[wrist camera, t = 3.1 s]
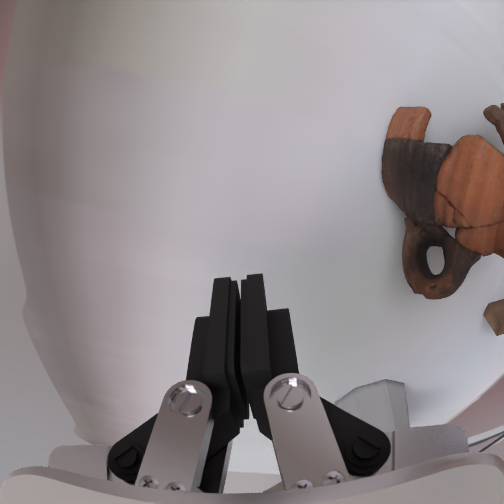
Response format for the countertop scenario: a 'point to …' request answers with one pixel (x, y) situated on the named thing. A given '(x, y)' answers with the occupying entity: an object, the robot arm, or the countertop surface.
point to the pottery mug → (444, 198)
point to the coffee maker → (378, 405)
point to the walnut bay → (496, 316)
